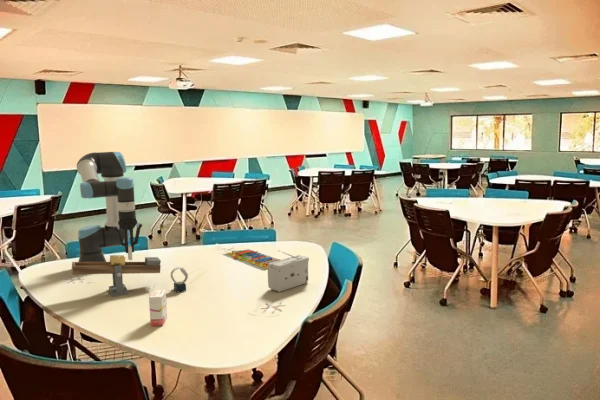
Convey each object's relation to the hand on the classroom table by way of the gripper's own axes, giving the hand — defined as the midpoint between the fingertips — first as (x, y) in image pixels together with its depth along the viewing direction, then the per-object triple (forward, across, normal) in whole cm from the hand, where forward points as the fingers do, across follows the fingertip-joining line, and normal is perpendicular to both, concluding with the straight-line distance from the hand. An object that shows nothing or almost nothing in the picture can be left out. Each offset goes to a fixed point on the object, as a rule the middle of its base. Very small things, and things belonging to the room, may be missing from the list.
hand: (130, 259), depth 220 cm
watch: (+15, +20, -13) cm, 28 cm away
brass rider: (+3, -6, 0) cm, 7 cm away
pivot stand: (+15, -6, 0) cm, 16 cm away
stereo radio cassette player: (+15, +66, -36) cm, 77 cm away
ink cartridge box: (+15, +2, -47) cm, 50 cm away
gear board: (+16, +72, +18) cm, 76 cm away
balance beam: (+5, -6, 0) cm, 8 cm away
